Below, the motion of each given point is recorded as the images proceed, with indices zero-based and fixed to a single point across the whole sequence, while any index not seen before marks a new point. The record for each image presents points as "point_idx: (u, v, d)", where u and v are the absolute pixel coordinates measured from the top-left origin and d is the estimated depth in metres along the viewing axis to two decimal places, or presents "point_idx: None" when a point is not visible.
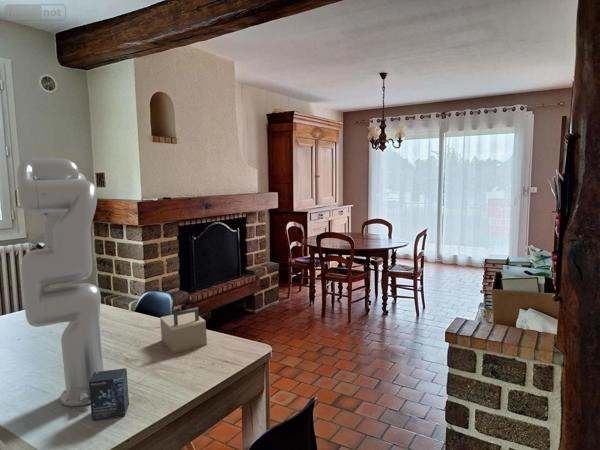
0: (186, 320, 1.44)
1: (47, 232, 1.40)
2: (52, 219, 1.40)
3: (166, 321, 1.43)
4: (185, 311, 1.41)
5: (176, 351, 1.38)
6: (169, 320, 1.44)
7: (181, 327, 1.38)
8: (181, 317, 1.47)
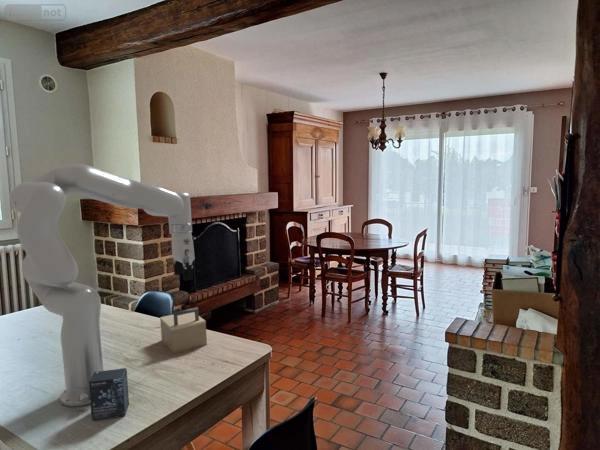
0: (186, 320, 1.44)
1: (193, 247, 1.37)
2: None
3: (166, 321, 1.43)
4: (185, 311, 1.41)
5: (176, 351, 1.38)
6: (169, 320, 1.44)
7: (181, 327, 1.38)
8: (181, 317, 1.47)
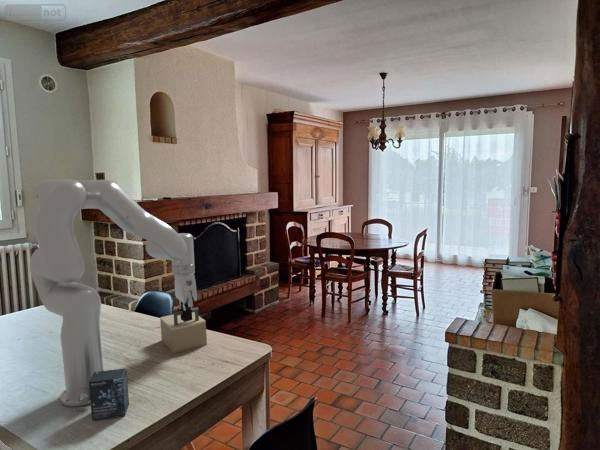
0: None
1: (195, 287, 1.38)
2: None
3: (166, 321, 1.43)
4: None
5: (176, 351, 1.38)
6: (169, 320, 1.44)
7: (181, 327, 1.38)
8: None
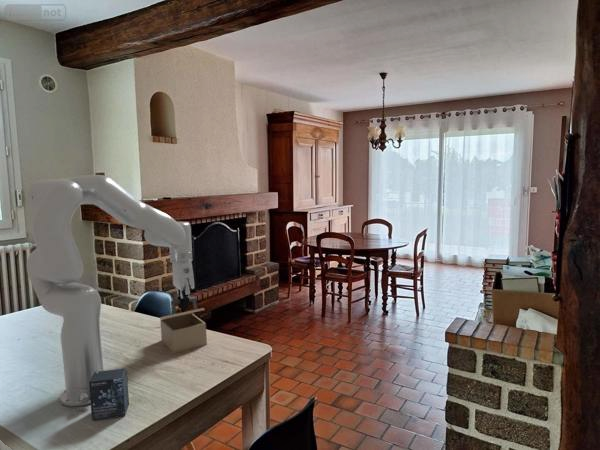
0: None
1: None
2: None
3: (165, 316, 1.43)
4: None
5: (176, 351, 1.38)
6: None
7: (179, 313, 1.38)
8: None
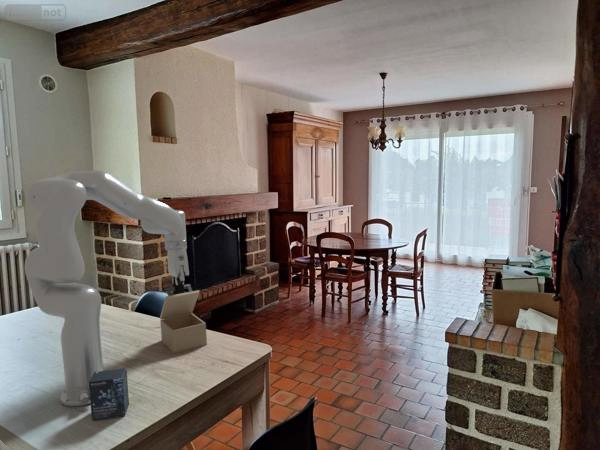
0: None
1: (187, 262, 1.43)
2: None
3: None
4: None
5: (176, 351, 1.38)
6: None
7: (175, 295, 1.41)
8: None
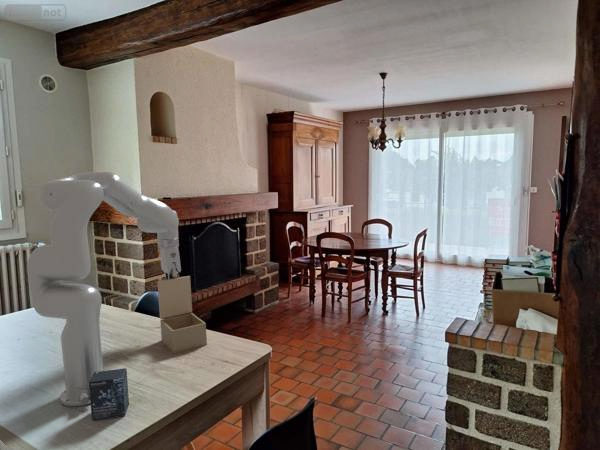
0: None
1: (179, 259, 1.50)
2: None
3: None
4: None
5: (176, 351, 1.38)
6: None
7: None
8: None
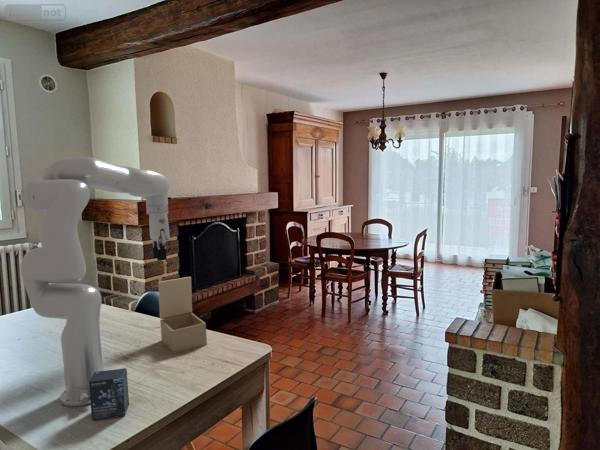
0: None
1: (168, 227, 1.45)
2: (166, 214, 1.47)
3: None
4: None
5: (176, 351, 1.38)
6: None
7: (167, 280, 1.47)
8: None
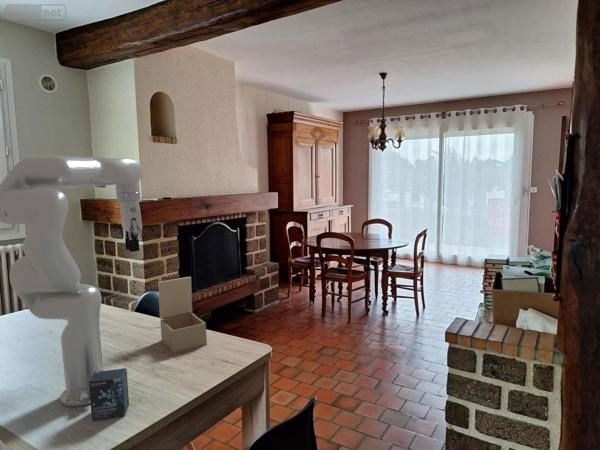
0: None
1: (140, 216, 1.36)
2: None
3: None
4: None
5: (176, 351, 1.38)
6: None
7: (167, 280, 1.47)
8: None
